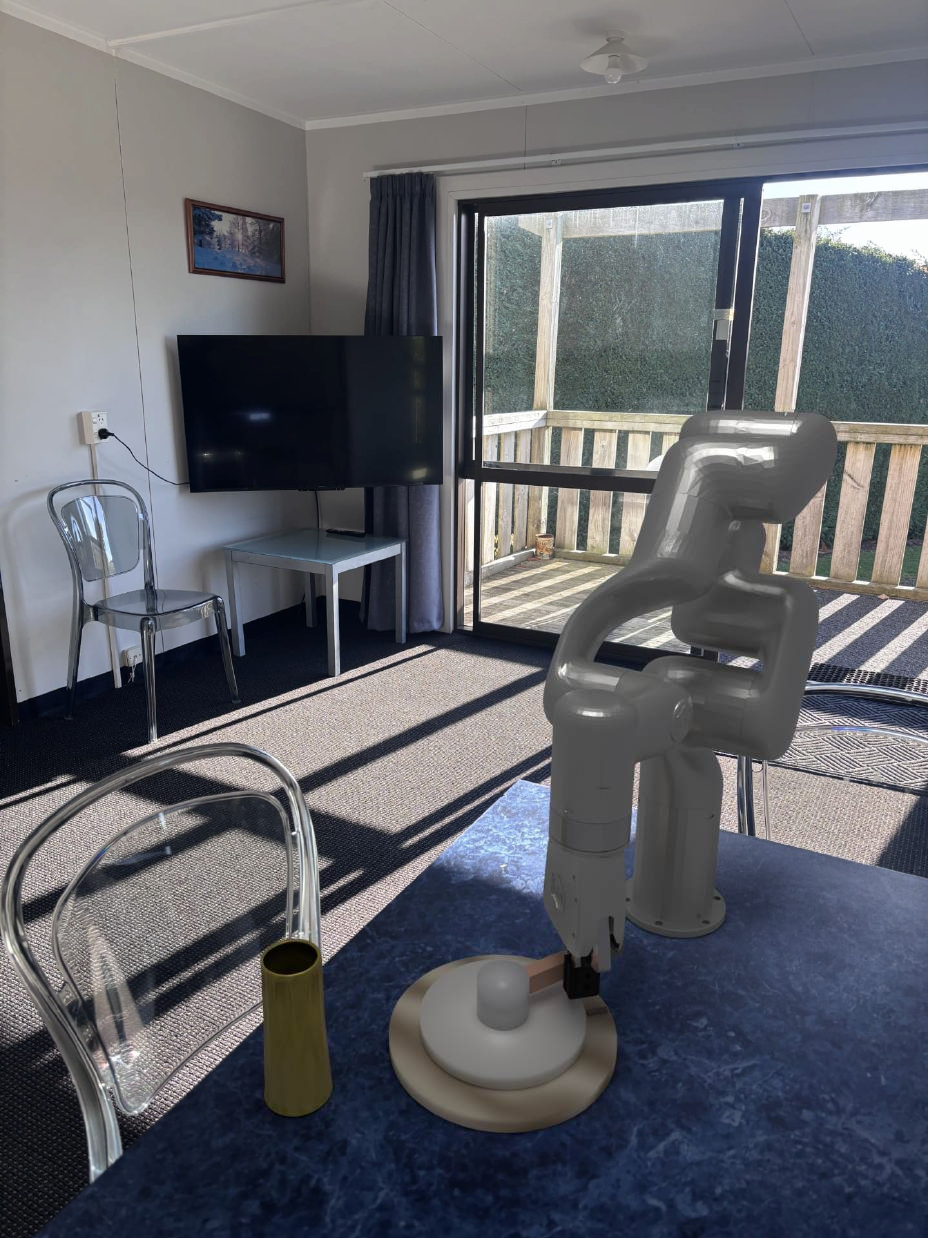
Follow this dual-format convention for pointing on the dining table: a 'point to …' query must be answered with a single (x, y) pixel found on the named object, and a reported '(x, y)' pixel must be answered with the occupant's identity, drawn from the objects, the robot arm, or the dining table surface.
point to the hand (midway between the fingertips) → (580, 992)
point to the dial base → (499, 1105)
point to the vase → (294, 1028)
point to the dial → (504, 1022)
